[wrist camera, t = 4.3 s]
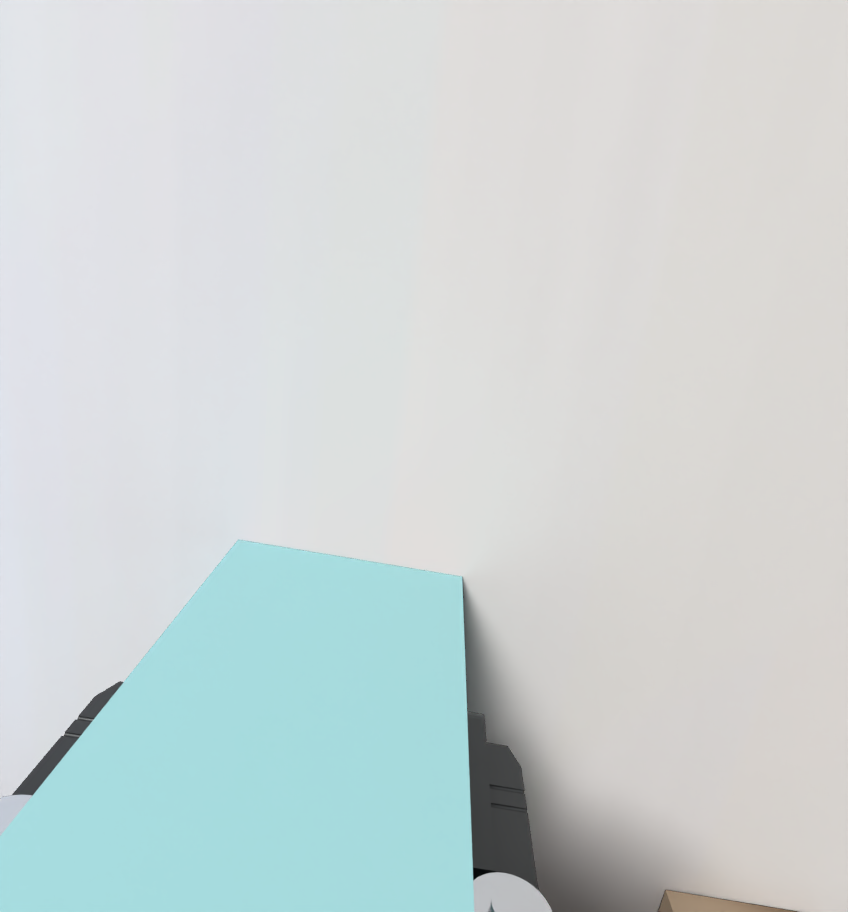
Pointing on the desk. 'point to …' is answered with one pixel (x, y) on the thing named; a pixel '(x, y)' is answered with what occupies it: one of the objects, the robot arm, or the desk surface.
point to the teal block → (269, 755)
